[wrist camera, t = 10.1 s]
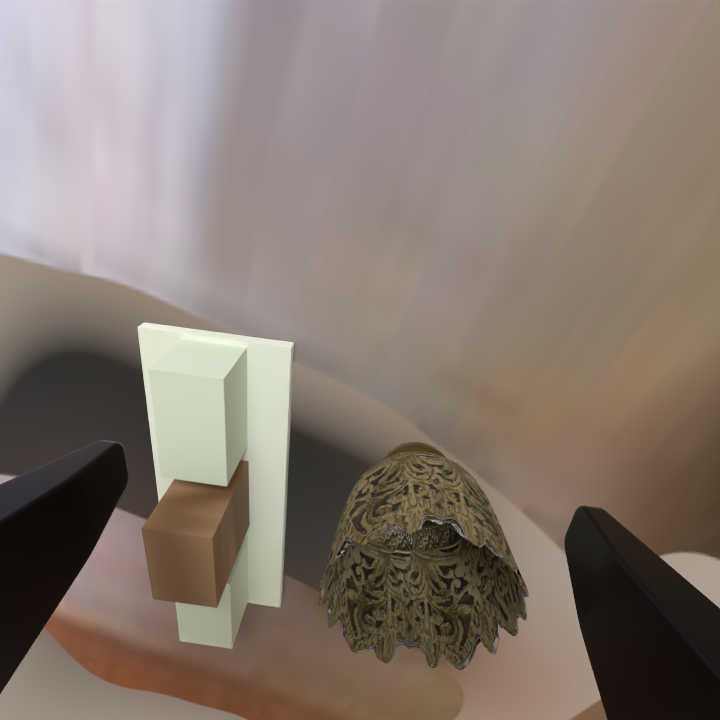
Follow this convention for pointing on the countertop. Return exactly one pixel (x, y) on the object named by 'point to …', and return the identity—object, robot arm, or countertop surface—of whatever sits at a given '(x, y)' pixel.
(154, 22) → the countertop surface
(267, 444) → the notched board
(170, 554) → the brown rectangular block
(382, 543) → the cup
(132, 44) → the countertop surface
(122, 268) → the countertop surface
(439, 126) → the countertop surface
